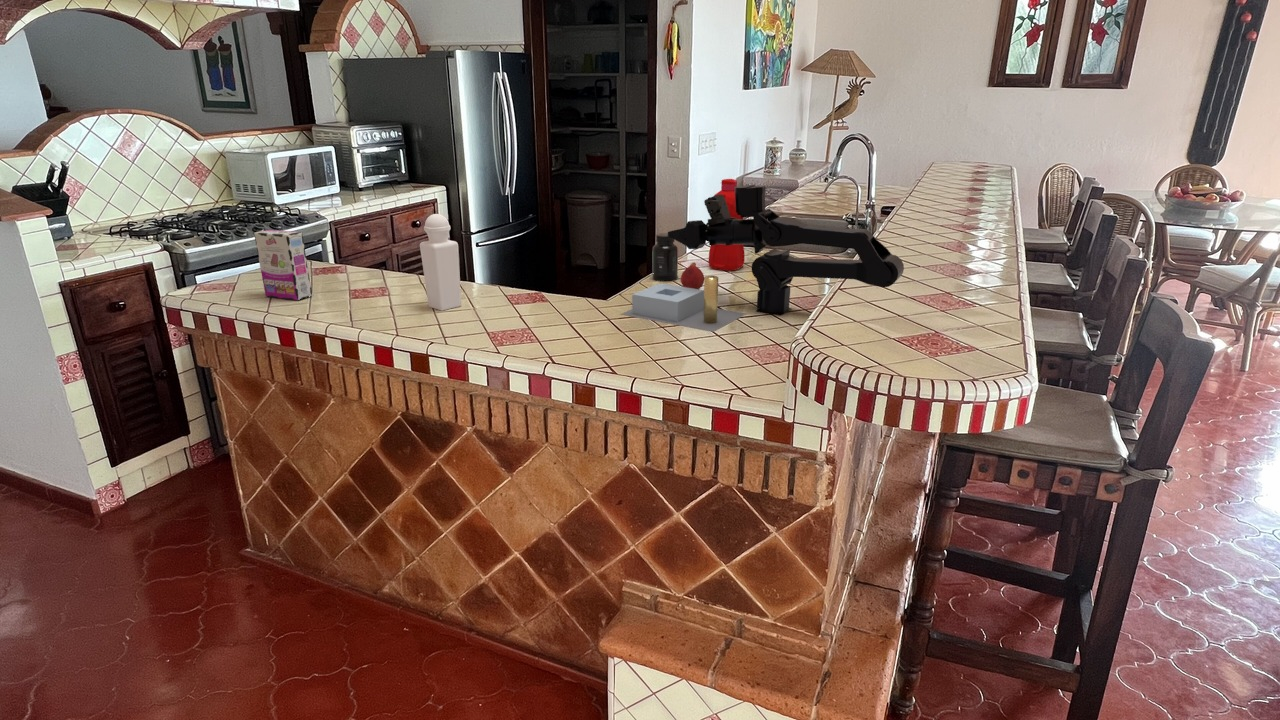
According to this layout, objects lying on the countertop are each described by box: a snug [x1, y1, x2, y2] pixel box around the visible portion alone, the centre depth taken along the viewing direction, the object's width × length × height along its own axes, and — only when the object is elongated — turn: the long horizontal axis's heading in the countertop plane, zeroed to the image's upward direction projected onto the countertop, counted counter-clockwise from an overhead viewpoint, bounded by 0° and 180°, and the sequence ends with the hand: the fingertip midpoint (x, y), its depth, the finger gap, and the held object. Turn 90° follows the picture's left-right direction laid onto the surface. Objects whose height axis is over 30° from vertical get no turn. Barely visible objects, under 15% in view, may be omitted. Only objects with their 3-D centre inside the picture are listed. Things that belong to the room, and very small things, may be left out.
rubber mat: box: [620, 308, 747, 333], centre depth 169 cm, size 24×16×1 cm, turn 56°
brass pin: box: [703, 275, 719, 324], centre depth 162 cm, size 3×3×10 cm
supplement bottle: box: [651, 232, 679, 282], centre depth 200 cm, size 7×7×12 cm
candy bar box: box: [253, 229, 313, 301], centre depth 184 cm, size 11×5×16 cm, turn 68°
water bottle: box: [707, 178, 750, 272], centre depth 209 cm, size 9×11×25 cm
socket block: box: [631, 283, 704, 322], centre depth 170 cm, size 12×12×4 cm
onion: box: [680, 261, 705, 290], centre depth 186 cm, size 6×6×8 cm
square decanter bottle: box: [419, 213, 462, 312], centre depth 174 cm, size 6×6×22 cm
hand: (677, 232), depth 178 cm, fingers open, 9 cm apart
